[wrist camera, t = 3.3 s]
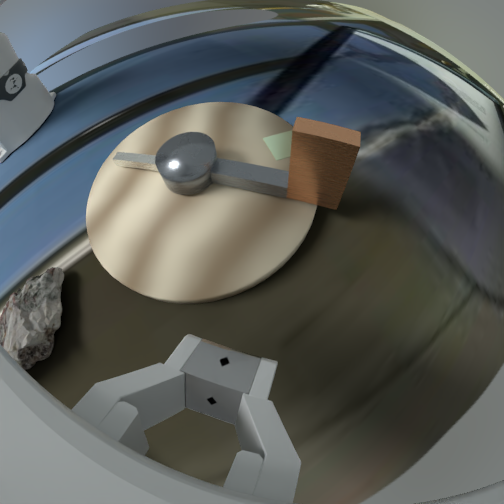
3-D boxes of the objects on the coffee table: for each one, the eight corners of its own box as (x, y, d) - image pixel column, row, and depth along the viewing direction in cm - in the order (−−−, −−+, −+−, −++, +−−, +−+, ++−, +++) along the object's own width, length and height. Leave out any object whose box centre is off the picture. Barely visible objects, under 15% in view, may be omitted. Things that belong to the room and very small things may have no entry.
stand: (61, 260, 22) (52, 254, 21) (155, 107, 30) (152, 99, 28) (283, 340, 18) (284, 339, 17) (331, 129, 26) (333, 119, 25)
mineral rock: (64, 262, 22) (36, 243, 18) (90, 330, 19) (58, 320, 15) (-5, 334, 19) (-31, 325, 15) (14, 395, 16) (-15, 393, 12)
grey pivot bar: (106, 181, 23) (71, 132, 16) (130, 144, 25) (105, 94, 18) (332, 229, 19) (358, 168, 13) (340, 179, 21) (361, 115, 15)
